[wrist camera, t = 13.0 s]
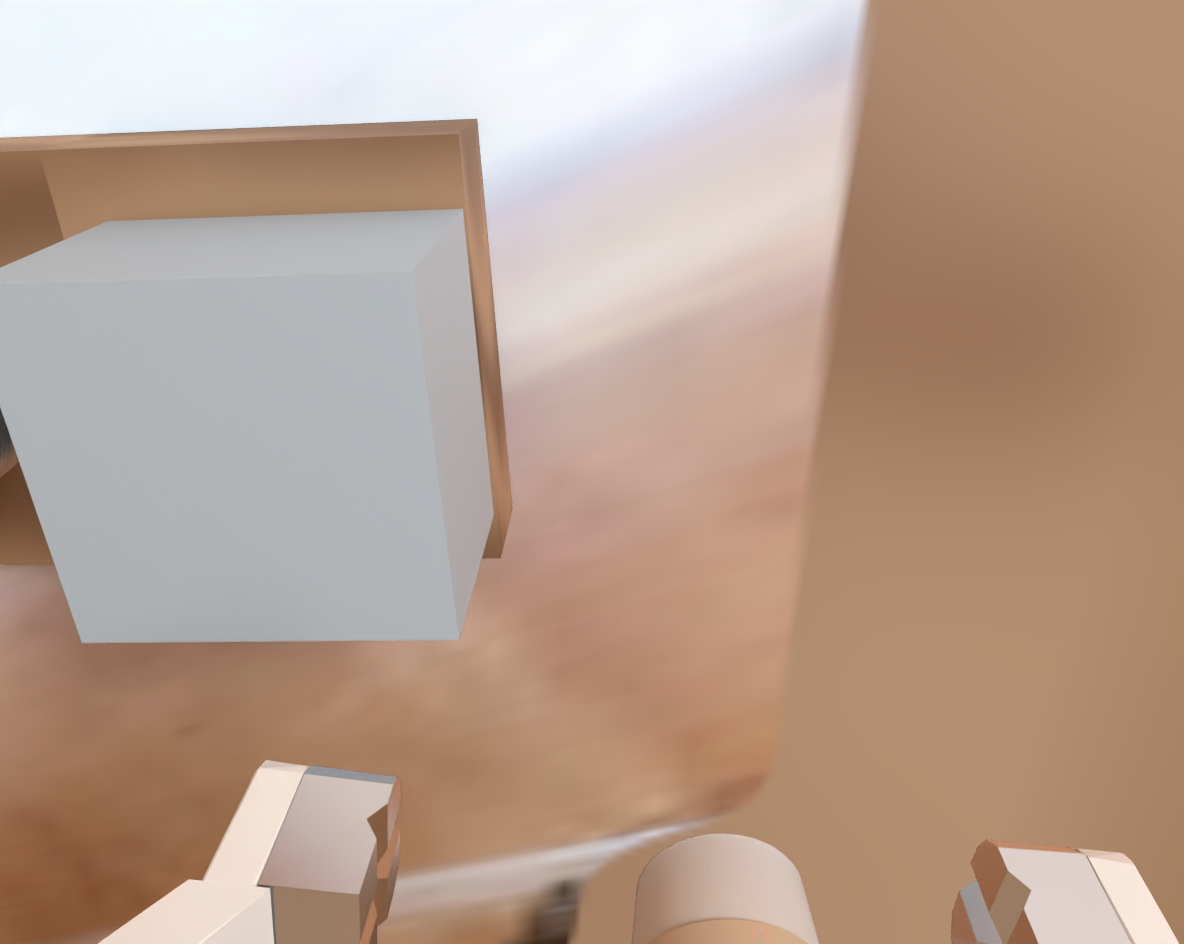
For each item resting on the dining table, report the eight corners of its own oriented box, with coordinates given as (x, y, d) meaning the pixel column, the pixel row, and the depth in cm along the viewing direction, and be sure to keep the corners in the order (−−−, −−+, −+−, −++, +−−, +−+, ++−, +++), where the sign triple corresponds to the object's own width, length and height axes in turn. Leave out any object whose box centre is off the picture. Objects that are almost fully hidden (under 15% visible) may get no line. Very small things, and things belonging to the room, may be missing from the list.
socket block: (512, 509, 31) (500, 558, 28) (-20, 518, 32) (-80, 565, 29) (477, 119, 26) (458, 133, 23) (-161, 144, 27) (-250, 161, 24)
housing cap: (493, 514, 27) (459, 639, 22) (187, 519, 28) (81, 643, 23) (463, 208, 23) (411, 271, 18) (107, 221, 24) (-42, 286, 19)
